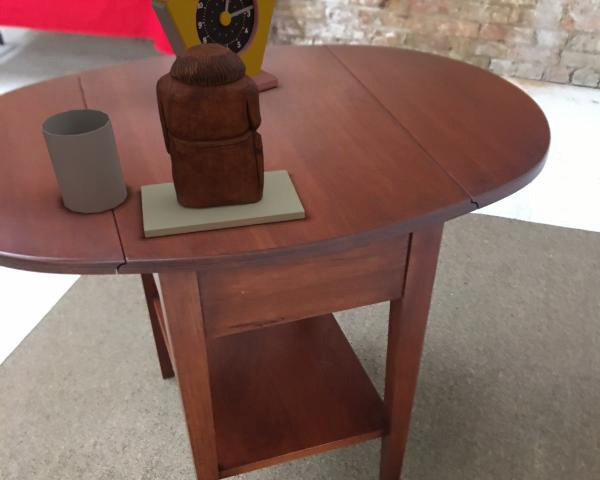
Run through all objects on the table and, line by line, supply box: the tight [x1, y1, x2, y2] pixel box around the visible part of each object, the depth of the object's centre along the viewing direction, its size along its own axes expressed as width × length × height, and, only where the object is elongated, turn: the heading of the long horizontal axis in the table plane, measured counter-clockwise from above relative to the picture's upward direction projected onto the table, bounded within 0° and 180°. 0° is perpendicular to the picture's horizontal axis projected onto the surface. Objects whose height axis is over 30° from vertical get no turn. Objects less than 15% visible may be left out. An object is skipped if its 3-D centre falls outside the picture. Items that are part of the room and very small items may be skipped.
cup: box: [40, 108, 128, 214], centre depth 81 cm, size 8×8×10 cm
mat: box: [140, 169, 306, 238], centre depth 83 cm, size 20×12×1 cm, turn 102°
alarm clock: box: [150, 0, 279, 92], centre depth 105 cm, size 22×9×22 cm, turn 128°
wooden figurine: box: [155, 43, 265, 208], centre depth 76 cm, size 12×6×18 cm, turn 99°
